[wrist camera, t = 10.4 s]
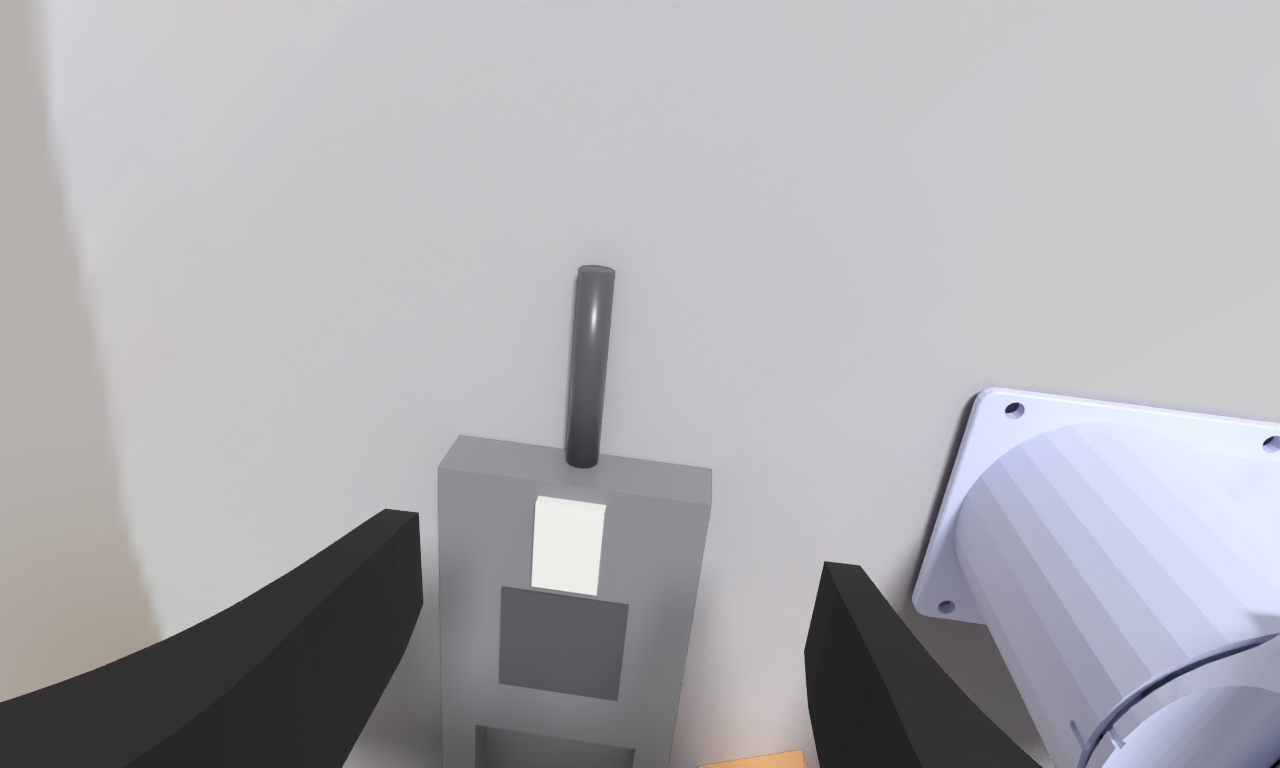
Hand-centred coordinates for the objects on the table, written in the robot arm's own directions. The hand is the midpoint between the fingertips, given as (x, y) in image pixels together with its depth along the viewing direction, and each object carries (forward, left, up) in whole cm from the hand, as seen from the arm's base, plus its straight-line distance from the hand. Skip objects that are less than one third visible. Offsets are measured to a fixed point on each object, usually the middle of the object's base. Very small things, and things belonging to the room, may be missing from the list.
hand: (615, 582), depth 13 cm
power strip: (+2, +9, -9) cm, 13 cm away
